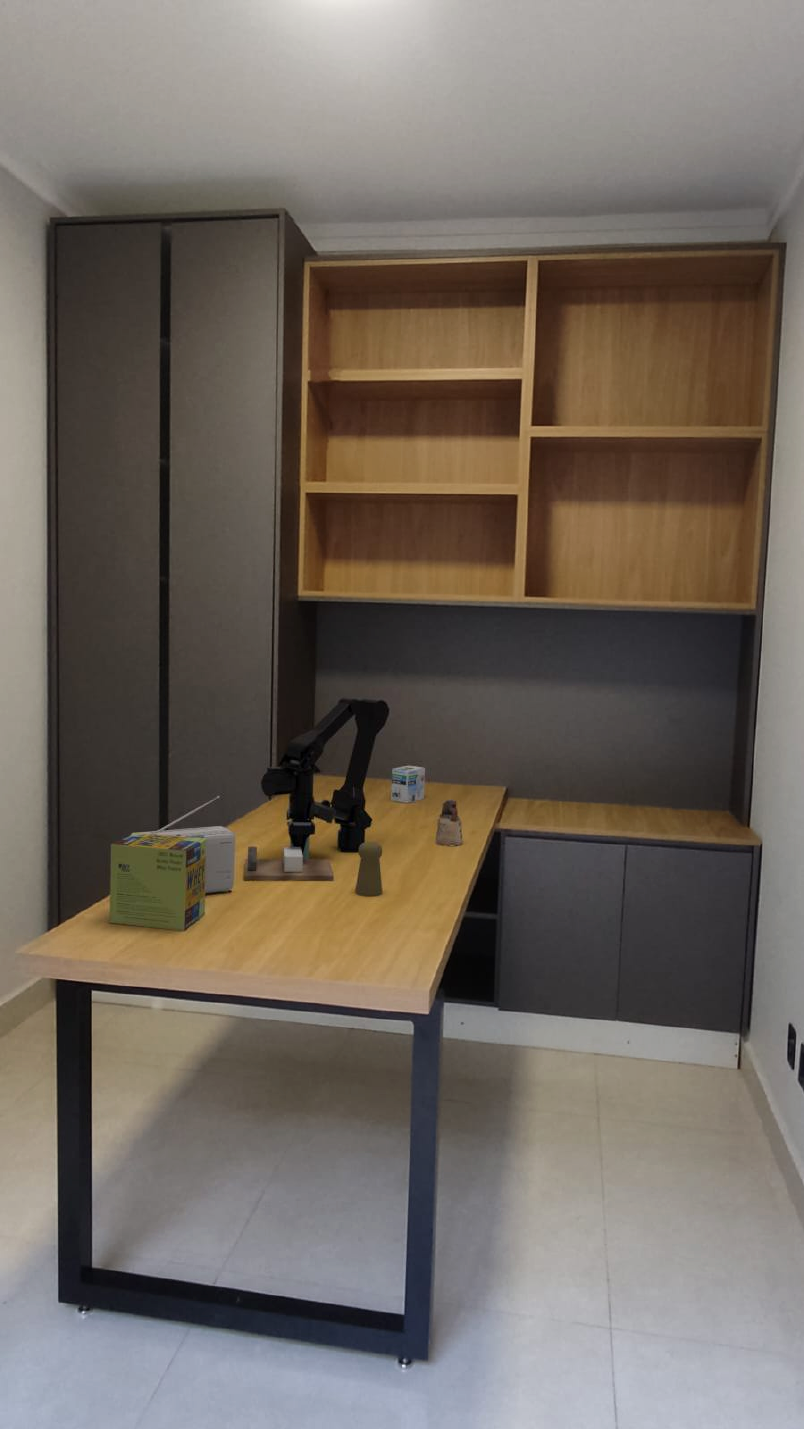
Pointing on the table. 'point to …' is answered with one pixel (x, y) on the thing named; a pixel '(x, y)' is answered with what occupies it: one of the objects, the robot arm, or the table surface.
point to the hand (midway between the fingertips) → (299, 855)
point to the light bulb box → (408, 784)
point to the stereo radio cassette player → (211, 852)
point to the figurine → (449, 825)
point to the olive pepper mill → (369, 870)
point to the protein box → (158, 881)
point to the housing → (292, 859)
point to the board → (275, 869)
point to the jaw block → (306, 849)
